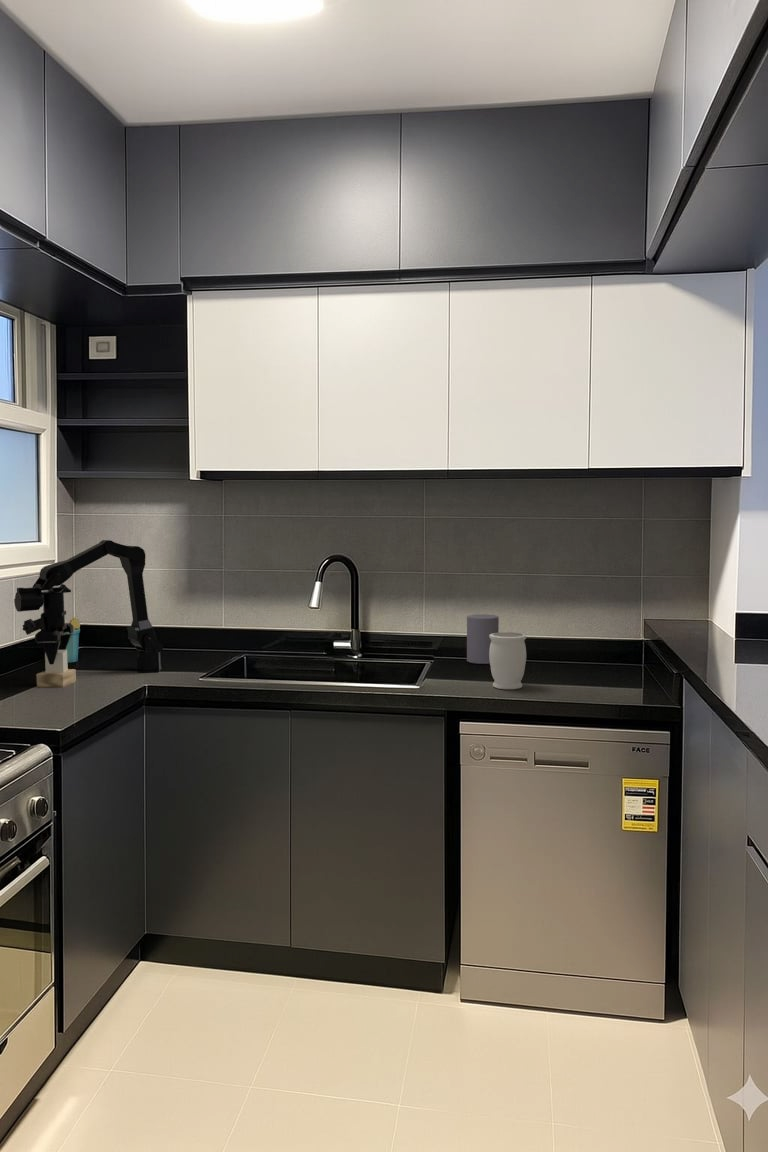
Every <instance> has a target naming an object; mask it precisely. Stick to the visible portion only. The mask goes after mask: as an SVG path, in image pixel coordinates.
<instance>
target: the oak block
mask: <svg viewBox="0 0 768 1152" xmlns="http://www.w3.org/2000/svg"><path fill="white" fill-rule="evenodd" d="M76 670H77V669H75V668H74V669H73V668H72V669H71V668H68V670H67V671H65V672H64V673H46V670H44V671H41V672H38V673H37V674H35V675H36V687H37V688H65V687H67V686H69V685H71V683H72V684H73V683H76V682H77V675H76V674H77V673H76Z"/></svg>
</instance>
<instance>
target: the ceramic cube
mask: <svg viewBox="0 0 768 1152" xmlns="http://www.w3.org/2000/svg"><path fill="white" fill-rule="evenodd" d="M44 659H45V660H44V661H45V662H44V663H45V667H44V668H45V671H46V673H64V672H65V671H67V670H68V669H69V668H68V666H69V665H68V663H69V662H68V663H67V650H58V652H57V655H56V659H55V662H54V664H49V661H48V658H47V655H46V652H44Z"/></svg>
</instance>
